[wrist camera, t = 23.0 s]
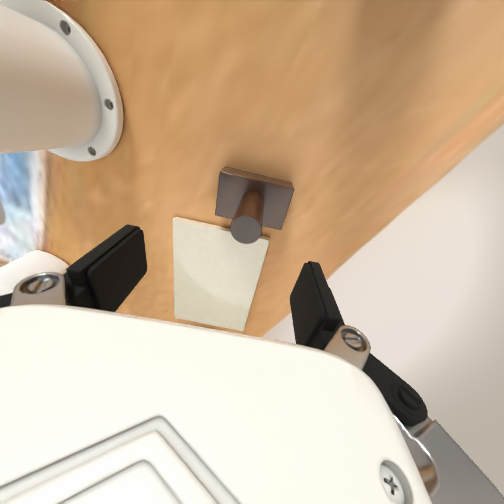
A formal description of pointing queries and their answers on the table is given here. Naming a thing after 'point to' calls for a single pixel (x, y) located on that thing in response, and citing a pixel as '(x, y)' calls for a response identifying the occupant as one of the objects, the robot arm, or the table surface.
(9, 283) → the eye dropper bottle
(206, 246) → the tile
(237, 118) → the table surface
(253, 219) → the handled square plate
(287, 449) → the robot arm
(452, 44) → the table surface
